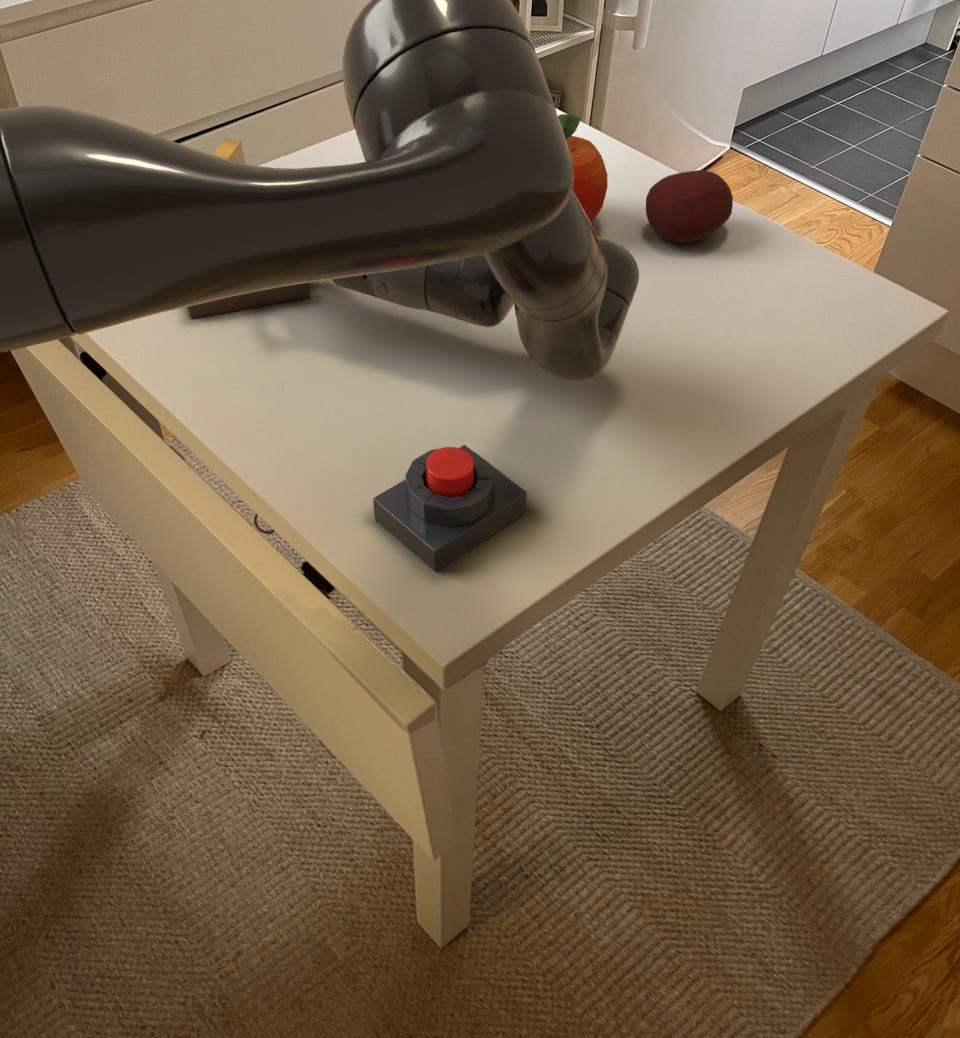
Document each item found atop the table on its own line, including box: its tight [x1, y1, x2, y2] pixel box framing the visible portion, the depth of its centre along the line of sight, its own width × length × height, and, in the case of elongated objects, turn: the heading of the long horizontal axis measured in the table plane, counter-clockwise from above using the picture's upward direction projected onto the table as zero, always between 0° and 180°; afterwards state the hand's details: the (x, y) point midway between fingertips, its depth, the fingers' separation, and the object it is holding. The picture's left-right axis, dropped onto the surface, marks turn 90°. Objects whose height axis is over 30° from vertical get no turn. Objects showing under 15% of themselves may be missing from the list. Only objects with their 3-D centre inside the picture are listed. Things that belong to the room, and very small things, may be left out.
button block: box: [372, 444, 528, 572], centre depth 73 cm, size 9×7×4 cm
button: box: [426, 446, 474, 497], centre depth 71 cm, size 3×3×2 cm
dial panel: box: [186, 283, 311, 319], centre depth 93 cm, size 14×12×2 cm
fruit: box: [557, 113, 609, 223], centre depth 96 cm, size 10×10×10 cm
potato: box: [645, 169, 734, 243], centre depth 97 cm, size 8×9×6 cm
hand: (219, 201), depth 86 cm, fingers closed
